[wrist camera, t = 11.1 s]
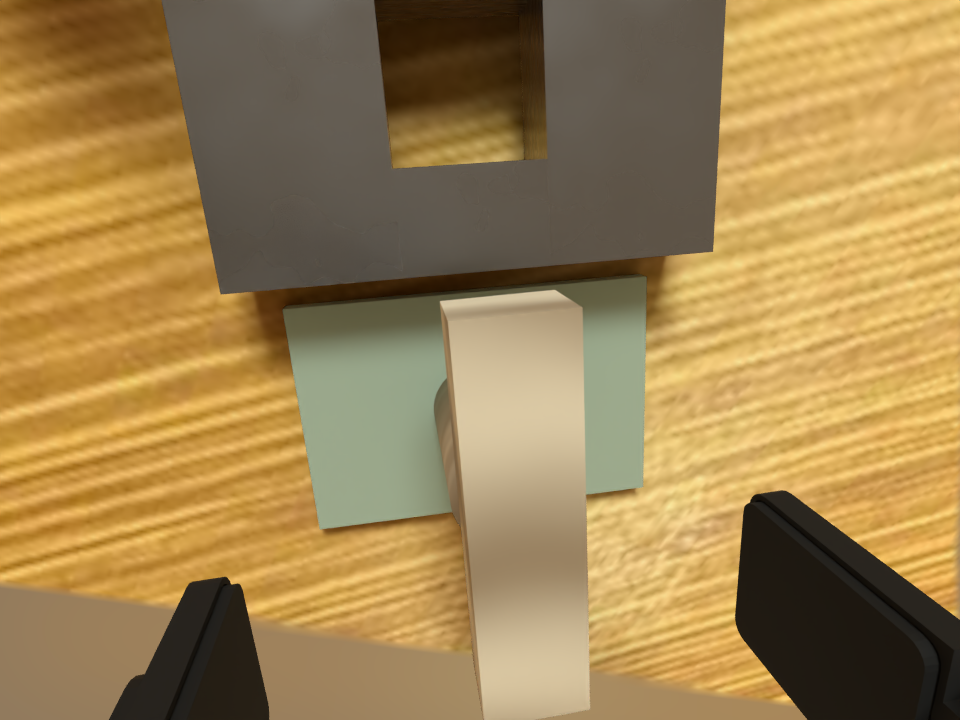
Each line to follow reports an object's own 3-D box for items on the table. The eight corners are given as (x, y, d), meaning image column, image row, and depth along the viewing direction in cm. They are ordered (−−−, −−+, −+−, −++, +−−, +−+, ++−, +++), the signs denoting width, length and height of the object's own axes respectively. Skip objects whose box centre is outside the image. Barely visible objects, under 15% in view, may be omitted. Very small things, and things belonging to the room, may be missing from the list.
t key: (418, 266, 18) (437, 322, 11) (511, 257, 19) (592, 306, 11) (446, 537, 21) (476, 730, 14) (526, 525, 22) (597, 708, 14)
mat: (322, 520, 21) (319, 529, 21) (286, 305, 19) (282, 309, 18) (636, 479, 22) (643, 487, 22) (639, 274, 20) (647, 276, 19)
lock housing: (248, 278, 18) (220, 294, 16) (179, -95, 15) (129, -158, 13) (668, 242, 20) (712, 251, 17) (678, -104, 17) (733, -162, 14)
